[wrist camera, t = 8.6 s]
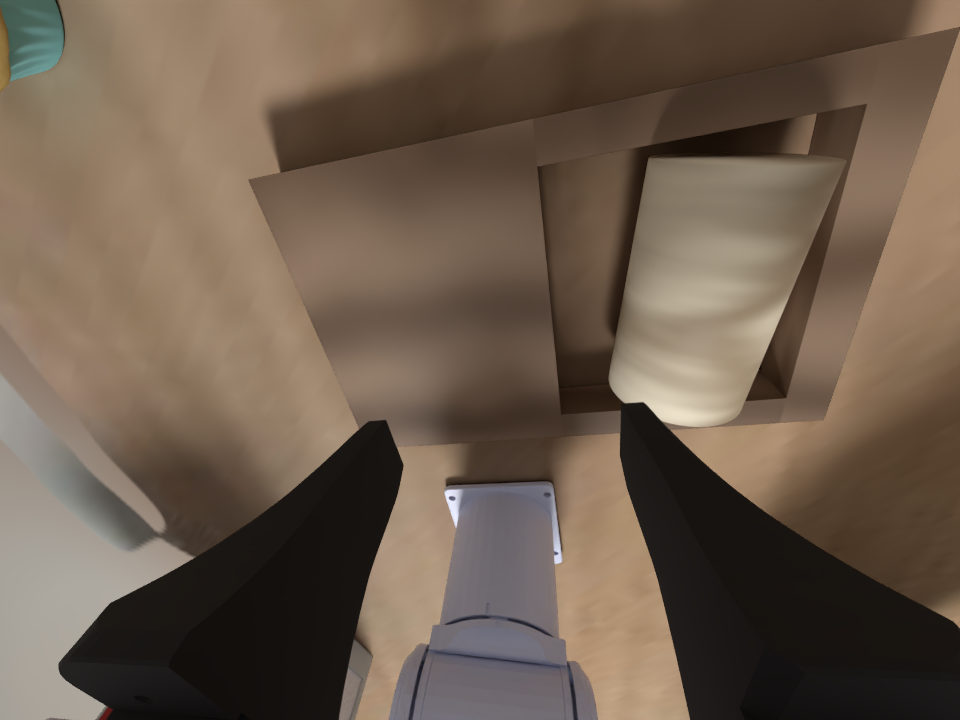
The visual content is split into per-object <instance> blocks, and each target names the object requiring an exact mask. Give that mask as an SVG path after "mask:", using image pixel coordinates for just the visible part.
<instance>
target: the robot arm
mask: <svg viewBox="0 0 960 720" xmlns="http://www.w3.org/2000/svg"><path fill="white" fill-rule="evenodd" d="M620 458H621V462H622V467H623V472H624V476H625V481H626V485H627V489H628V492H629V495H630V498H631V501H632V504H633V507H634V510H635V513H636V516H637V518H638V521H639V524H640V527H641V530H642V533H643V536H644V539H645V542H646V545H647V547H648V550H649V553H650V556H651V559H652V562H653V565H654V568H655V572H656V575H657V578H658V582H659V586H660V590H661V594H662V598H663V602H664V607H665V611H666V615H667V619H668V623H669V627H670V632H671V636H672V640H673V644H674V649H675V653H676V657H677V662H678V666H679V671H680V675H681V680H682V684H683V689H684V693H685V698H686V702H687V707H688V711H689V716H690V720H960V628H959V627H958V626H957V625H956V624H955V623H954V622H953V621H951V620H949V619H947V618H945V617H944V616H942V615H940V614H938V613H936V612H934V611H932V610H930V609H928V608H926V607H925V606H923V605H921V604H919V603H917V602H915V601H913V600H911V599H909V598H907V597H905V596H904V595H902V594H900V593H898V592H896V591H894V590H892V589H890V588H888V587H886V586H885V585H883V584H881V583H879V582H877V581H875V580H873V579H872V578H870V577H868V576H866V575H865V574H863V573H861V572H859V571H858V570H856V569H854V568H853V567H851V566H849V565H847V564H846V563H844V562H842V561H841V560H839V559H837V558H835V557H834V556H832V555H830V554H829V553H827V552H825V551H824V550H822V549H821V548H819V547H817V546H816V545H814V544H813V543H811V542H809V541H808V540H806V539H805V538H803V537H802V536H800V535H799V534H797V533H796V532H794V531H793V530H791V529H789V528H788V527H786V526H785V525H783V524H782V523H780V522H779V521H777V520H776V519H774V518H773V517H771V516H770V515H769V514H767V513H766V512H764V511H763V510H762V509H760V508H759V507H757V506H756V505H755V504H753V503H752V502H751V501H750V500H748V499H747V498H746V497H744V496H743V495H742V494H740V493H739V492H738V491H737V490H735V489H734V488H733V487H732V486H730V485H729V484H728V483H727V482H725V481H724V480H723V479H722V478H721V477H720V476H718V475H717V474H716V473H715V472H714V471H713V470H711V469H710V468H709V467H708V466H707V465H706V464H705V463H704V462H702V461H701V460H700V459H699V458H698V457H697V456H696V455H695V454H694V453H693V452H692V451H691V450H690V449H689V448H688V447H687V446H685V445H684V444H683V443H682V442H681V441H680V440H679V439H678V438H677V437H676V436H675V435H674V434H673V433H672V432H671V431H670V430H669V428H668V427H667V426H666V425H665V424H664V423H663V422H662V421H661V420H660V419H659V418H658V417H657V416H656V415H655V413H654V412H653V411H652V410H651V409H650V408H649V407H648V406H647V405H646V404H645V403H644V402H636V403H622V404H621V426H620ZM403 466H404V465H403V463H402V460H401V457H400V455H399V452H398V450H397V447H396V444H395V442H394V439H393V436H392V434H391V431H390V429H389V426H388V423H387V421H386V420H378V421H368V422H367V423H366V424H365V425H363V426H362V427H361V428H360V429H359V430H358V431H357V432H356V433H355V434H354V435H353V436H351V437H350V438H349V439H348V440H347V441H346V442H345V443H344V444H343V445H342V446H341V447H340V448H339V449H338V450H337V451H336V452H335V453H333V454H332V455H331V456H330V457H329V458H328V459H327V460H326V461H325V462H324V463H323V464H322V465H321V466H320V467H318V468H317V469H316V470H315V471H314V472H313V473H312V474H310V475H309V476H308V477H307V478H306V479H305V480H303V481H302V482H301V483H300V484H299V485H298V486H297V487H295V488H294V489H293V490H292V491H291V492H290V493H288V494H287V495H286V496H285V497H283V498H282V499H281V500H280V501H278V502H277V503H276V504H274V505H273V506H272V507H270V508H269V509H268V510H266V511H265V512H264V513H262V514H261V515H260V516H258V517H257V518H256V519H254V520H253V521H251V522H250V523H248V524H247V525H245V526H244V527H242V528H241V529H239V530H238V531H236V532H235V533H233V534H232V535H230V536H229V537H227V538H226V539H225V540H223V541H222V542H220V543H219V544H217V545H215V546H214V547H212V548H210V549H209V550H207V551H206V552H204V553H202V554H201V555H199V556H197V557H196V558H194V559H192V560H190V561H189V562H187V563H185V564H183V565H182V566H180V567H178V568H177V569H175V570H173V571H171V572H169V573H168V574H166V575H164V576H162V577H160V578H158V579H156V580H155V581H152V582H151V583H149V584H147V585H145V586H143V587H141V588H139V589H137V590H135V591H133V592H131V593H129V594H127V595H126V596H124V597H122V598H120V599H118V600H115V601H114V602H111V603H110V604H109V605H108V606H107V607H106V608H105V610H104V611H103V612H102V613H101V614H100V615H99V617H98V618H97V619H96V620H95V621H94V622H93V624H92V625H91V626H90V627H89V628H88V629H87V631H86V632H85V633H84V634H83V635H82V637H81V638H80V639H79V640H78V641H77V643H76V644H75V645H74V646H73V647H72V648H71V649H70V650H69V652H68V653H67V654H66V655H65V656H64V657H63V658H62V660H61V661H60V662H59V672H60V674H61V676H62V677H63V678H64V679H65V680H66V681H68V682H69V683H71V684H72V685H73V686H75V687H76V688H78V689H80V690H81V691H83V692H85V693H86V694H88V695H90V696H91V697H93V698H94V699H96V700H98V701H99V702H101V703H103V704H104V705H106V706H108V707H109V708H111V709H113V710H112V712H111V713H110V714H109V716H108V717H107V719H106V720H339V715H340V709H341V704H342V698H343V692H344V686H345V681H346V676H347V671H348V666H349V661H350V656H351V651H352V646H353V641H354V637H355V633H356V628H357V624H358V619H359V615H360V610H361V606H362V602H363V598H364V595H365V591H366V587H367V583H368V579H369V575H370V572H371V569H372V566H373V563H374V560H375V557H376V554H377V551H378V549H379V546H380V543H381V540H382V537H383V535H384V532H385V529H386V526H387V524H388V521H389V518H390V515H391V512H392V509H393V506H394V504H395V501H396V498H397V494H398V490H399V486H400V481H401V476H402V471H403ZM546 492H547V493H546ZM444 494H445V497H446V500H447V503H448V506H449V509H450V512H451V515H452V518H453V521H454V524H455V527H456V533H455V539H454V544H453V550H452V556H451V562H450V567H449V573H448V579H447V584H446V590H445V596H444V602H443V607H442V613H441V619H440V625H433V628H432V633H431V638H430V644H429V645H428V644H422V643H421V644H419V645H418V646H417V647H416V648H415V650H414V651H413V652H412V653H411V654H410V655H409V656H408V657H407V658H406V660H405V662H404V664H403V667H402V669H401V672H400V675H399V679H398V682H397V686H396V689H395V693H394V698H393V702H392V706H391V711H390V716H389V720H598V717H597V710H596V704H595V698H594V694H593V689H592V686H591V683H590V680H589V678H588V677H587V675H586V674H585V673H584V672H583V670H582V669H581V666H580V665H579V664H578V662H576V661H567V657H566V644H565V640H564V639H559V626H558V609H557V593H556V577H555V564H559V563H561V562H562V552H561V544H560V536H559V528H558V520H557V512H556V504H555V496H554V488H553V484H552V483H550V482H547V481H543V482H519V483H496V484H472V485H450V486H447V487H446V488H445V491H444ZM47 720H67V719H57V718H49V719H47Z"/></svg>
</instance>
